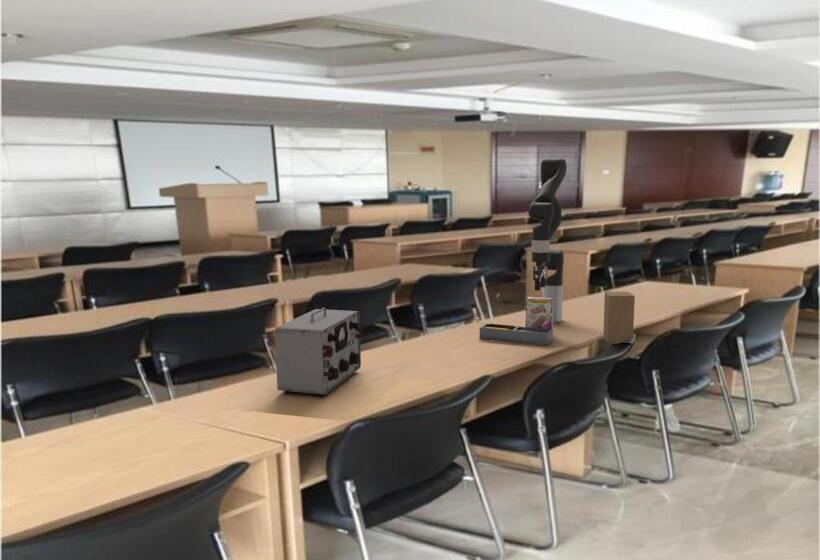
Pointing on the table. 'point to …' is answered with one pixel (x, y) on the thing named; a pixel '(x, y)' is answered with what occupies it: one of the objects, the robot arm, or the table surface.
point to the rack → (516, 334)
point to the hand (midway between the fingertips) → (540, 288)
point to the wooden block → (618, 317)
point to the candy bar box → (539, 312)
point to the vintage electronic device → (317, 351)
